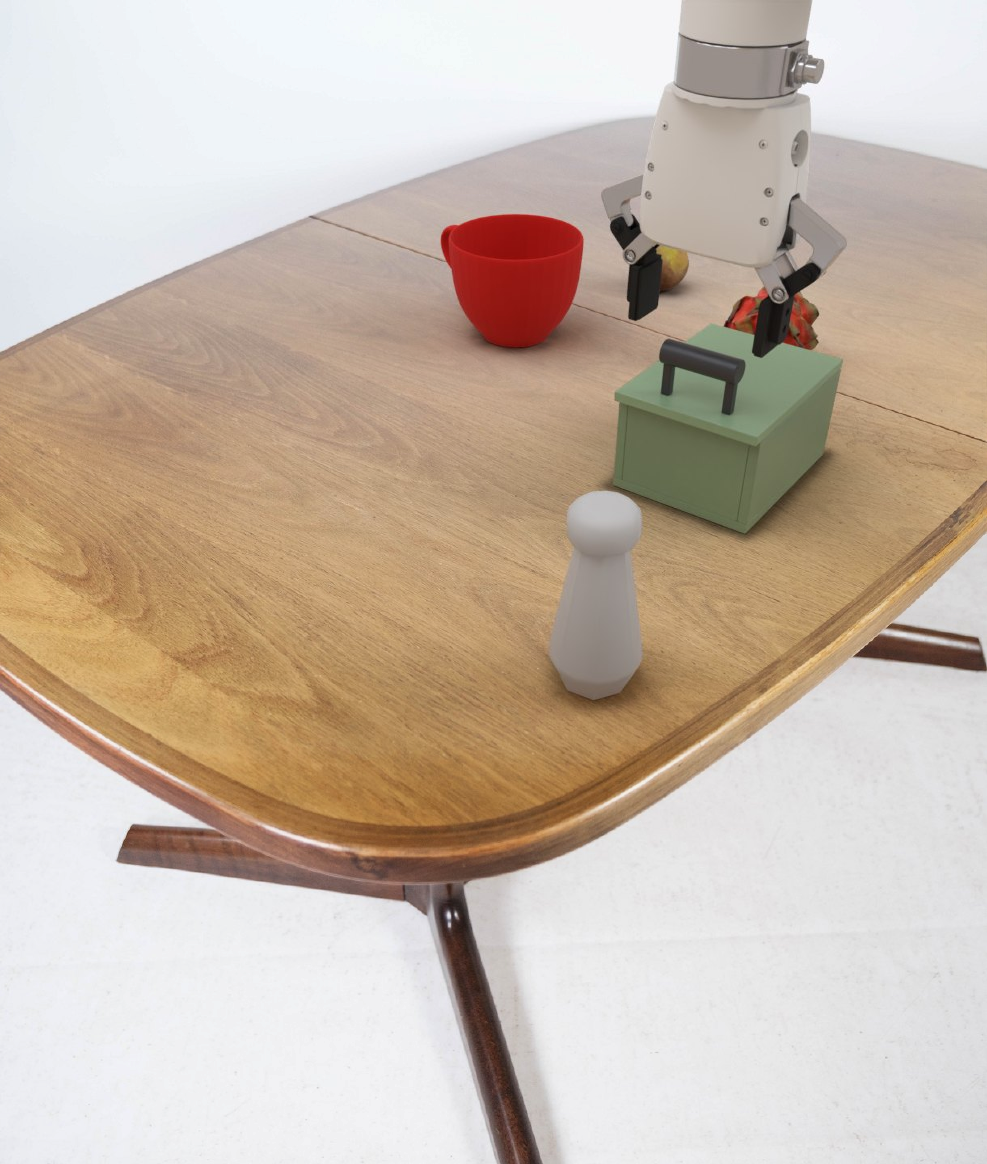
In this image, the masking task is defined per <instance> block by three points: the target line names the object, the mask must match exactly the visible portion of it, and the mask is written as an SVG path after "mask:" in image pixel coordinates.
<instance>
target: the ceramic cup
mask: <svg viewBox="0 0 987 1164" xmlns="http://www.w3.org/2000/svg"><path fill="white" fill-rule="evenodd" d="M584 242H585V241H584V236H583V233H582V231H581V230H580V229H579V228H578V227H576V226H575V225H573V224H571V223H569V222H567V221H564V220H561V219H558V218H555V217H550V216H545V215H544V216H543V215H538V214H529V213H528V214H527V213H525V214H524V213H506V214H505V213H504V214H495V215H494V214H493V215H488V216H482V217H477V218H474V219H469V220H467V221H465V222H463V223H460V224H450V225H448V226H446V227H445V228H444V229H443V230H442V232H441V234H440V249H441V252H442V254H443V257H444V259H445V262H446V263H447V265H448V267H449V268H450V270H451V277H452V281H453V287H454V290H455V294H456V298H457V300H458V303H459V305H460V307H461V309H462V311H463V313H464V314H465V316H466V318H467V319H468V321H469V322H470V323H471V324H472V326H473V327H474V328H475V329H476V330H477V331H478V332H479V333H480V334H481V335H482V337H483V339H485V340H486V341H487V342H489V343H491V344H493V345H496V346H501V347H505V348H506V347H507V348H526V347H531V346H535V345H539V344H541V343H543V342H544V341H545V340H546V339H547V338H548V336H549V335H550V334H551V333H552V332H553V331H554V330H555V329H556V328H558V326H559V325H560V323H562V321H563V319H564V318H565V317H566V315H567V314H568V312H569V310H570V309H571V306H572V304H573V302H574V299H575V297H576V294H577V290H578V288H579V287H578V286H579V283H580V276H581V269H582V262H583V255H584Z"/></svg>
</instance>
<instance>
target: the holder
mask: <svg viewBox="0 0 987 1164" xmlns="http://www.w3.org/2000/svg"><path fill="white" fill-rule="evenodd" d="M841 372H842V368H841V369H840V370H839V371H838V372H836V373H835V374H834V375H833V376H832V377H831V378H830V379H829V380H828V381H827V382H826V383H824V384H823V385H822V386H821V387H820V388H819V389H818V390H817V391H816V392H815V393H814V394H812V395H811V396H810V397H809V398H808V399H807V400H806V401H805V402H804V403H803V404H802V405H800V406H799V407H798V408H797V409H796V410H795V411H794V412H793V413H792V414H791V415H790V416H788V417H787V418H786V419H785V420H784V421H783V422H782V423H781V424H780V425H779V426H777V427H776V428H775V429H774V430H773V431H772V432H771V433H770V434H769V435H768V436H767V437H765V438H764V439H763V440H762V441H761V442H760V443H759V444H758V445H757V446H752V445H749V444H746V443H743V442H740V441H737V440H734V439H731V438H728V437H725V436H721V435H718V434H715V433H712V432H709V431H706V430H703V429H700V428H697V427H694V426H691V425H688V424H685V423H682V422H679V421H675V420H672V419H669V418H666V417H663V416H660V415H657V414H654V413H651V412H648V411H645V410H642V409H639V408H636V407H632V406H629V405H626V404H623V403H620V402H618V414H617V415H618V417H617V427H616V428H617V429H616V441H615V442H616V444H615V453H614V454H615V455H614V467H613V479H612V485H613V486H614V487H617V488H620V489H622V490H624V491H628V492H630V493H633V494H636V495H638V496H641V497H644V498H647V499H650V500H652V501H655V502H658V503H660V504H662V505H666V506H669V507H671V508H673V509H677V510H679V511H682V512H684V513H688V514H690V515H692V516H695V517H698V518H701V519H703V520H707V521H709V522H712V523H714V524H717V525H720V526H723V527H725V528H728V529H730V530H732V531H733V530H734V531H736V532H738V533H741V534H744V535H746V534H747V533H748V532H749V531H750V530H751V529H752V528H753V527H754V525H756V523H758V522H759V520H760V519H762V517H764V515H766V513H767V512H768V511H769V510H770V509H771V508H773V506H774V505H775V504H776V503H777V502H778V501H779V500H780V499H781V498H782V497H783V496H784V495H785V494H786V493H787V492H788V491H789V490H790V489H791V488H792V487H793V486H794V485H795V484H796V483H797V482H798V481H799V480H800V479H801V477H803V476H804V475H805V474H806V472H807V471H808V470H809V469H811V467H812V466H814V464H816V462H817V461H818V460H819V459H820V458H821V457H822V456H824V454H825V453H824V452H825V448H826V443H827V438H828V434H829V428H830V424H831V420H832V415H833V410H834V405H835V400H836V397H837V396H836V395H837V391H838V386H839V381H840V377H841Z"/></svg>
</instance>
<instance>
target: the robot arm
mask: <svg viewBox="0 0 987 1164" xmlns="http://www.w3.org/2000/svg"><path fill="white" fill-rule="evenodd" d="M812 5H813V0H681V4H680V13H679V14H680V15H679V22H678V23H679V25H678V33H677V34H678V35H677V42H676V53H675V54H676V55H675V64H674V73H673V81H671V82H669V83H667V84H666V85H665V86H664V87H663V91H662V94H661V97H660V100H659V104H658V106H657V107H658V108H657V110H656V114H655V118H654V122H653V126H652V129H651V133H650V138H649V143H648V146H647V147H648V148H647V154H646V158H645V164H644V169H643V173H641V174H638V175H636V176H632V177H630V178H628V179H624V180H622V181H619V182H617V183H614V184H612V185H610V186H608V187H606V188H604V189H602V191H601V194H600V198H601V201H602V204H603V207H604V211H605V213H606V215H607V218H608V219H609V221H610V224H609V230H610V232H611V234H612V235H613V237H614V239H615V240H616V242H617V243H618V245H619V246H620V248H621V249H622V260H623V261H624V262H625V263H626V264H627V265H628V275H627V288H626V301H627V302H628V313H627V318H628V320H630V321H634V322H638V321H640V320H642V319H643V318H645V317H646V316H648V315H649V314H651V313H652V312H654V311H656V310H657V309H658V307H659V302H660V299H659V298H660V292H661V291H660V283H661V273H662V264H663V260H662V259H661V257H662V255H660V254H657V249H658V248H659V247H660V246H665V247H668V248H672V249H676V250H680V251H683V252H687V254H692V255H695V256H699V257H702V258H703V257H704V258H708V259H711V260H715V261H719V262H723V263H727V264H732V265H736V266H740V267H744V268H750V269H754V270H755V272H756V274H757V276H758V278H759V280H760V281H761V283H762V286H763V287H765V289H766V291H767V293H768V296H767V297H766V298H764V299H763V300H762V301H761V302H760V305H759V311H758V317H757V323H756V329H755V335H754V341H753V347H752V353H753V354H754V356H756V357H759V358H763V357H764V356H765V355H766V354H768V353H769V352H770V351H771V350H772V349H774V348H775V347H776V346H777V345H780V344H781V343H783V342H784V340H785V339H786V336H787V333H788V329H789V323H790V318H791V313H792V307H793V302H794V296H795V294H797V293H798V292H802V291H803V290H804V289H805V288H807V287H809V286H811V285H812V284H813V283H815V282H816V281H817V280H819V279H820V278H821V277H824V275H825V274H826V273H827V271H828V270H829V269H830V268H831V266H832V265H833V264H834V263H835V261H837V259H838V258H839V256H840V255H841V254H842V253H843V251H844V250H845V249H846V248H847V245H848V240H847V238H846V237H845V236H844V234H842V233H840V231H838V230H837V229H836V228H835V227H834V226H832V225H831V224H830V223H829V222H828V221H827V220H825V219H824V218H823V217H822V216H821V215H819V214H818V213H817V212H816V211H815V210H814V209H813V208H812V207H810V206H809V205H808V204H807V198H808V197H807V196H808V189H809V188H808V187H809V178H810V166H811V165H810V163H811V143H812V110H811V109H812V108H811V98H810V96H809V95H807V94H804V93H799V92H798V90H799V89H800V88H801V89H802V86H803V85H806V84H807V83H808V84H813V85H814V84H815V85H818V84H819V83H820V82H821V80H822V78H823V75H824V70H825V60H824V59H823V58H818V57H814V56H813V55H812V54H809V45H810V40H807V35H808V30H809V29H808V28H809V22H810V16H811V11H812ZM637 197H640V198H639V199H640V200H639V213H638V214H639V215H638V217H639V220H638V219H637V217H636V215H634V214H633V213H632V212H631V210H632V208H631V204H630V203H631V200H632V199H634V198H637ZM801 238H802V239H803V240H804V241H806V242H807V243H808V244H809V245H810V246H811V247H812V254H811V255H810V257H809V258H808V260H807V261H806V263H805V264H804V265H803V266H801V267H798V265H797V263H796V261H795V259H794V257H793V255H792V253H791V250H794V249H795V248H796V247H797V245H798V244H799V242H800V240H801Z"/></svg>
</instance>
